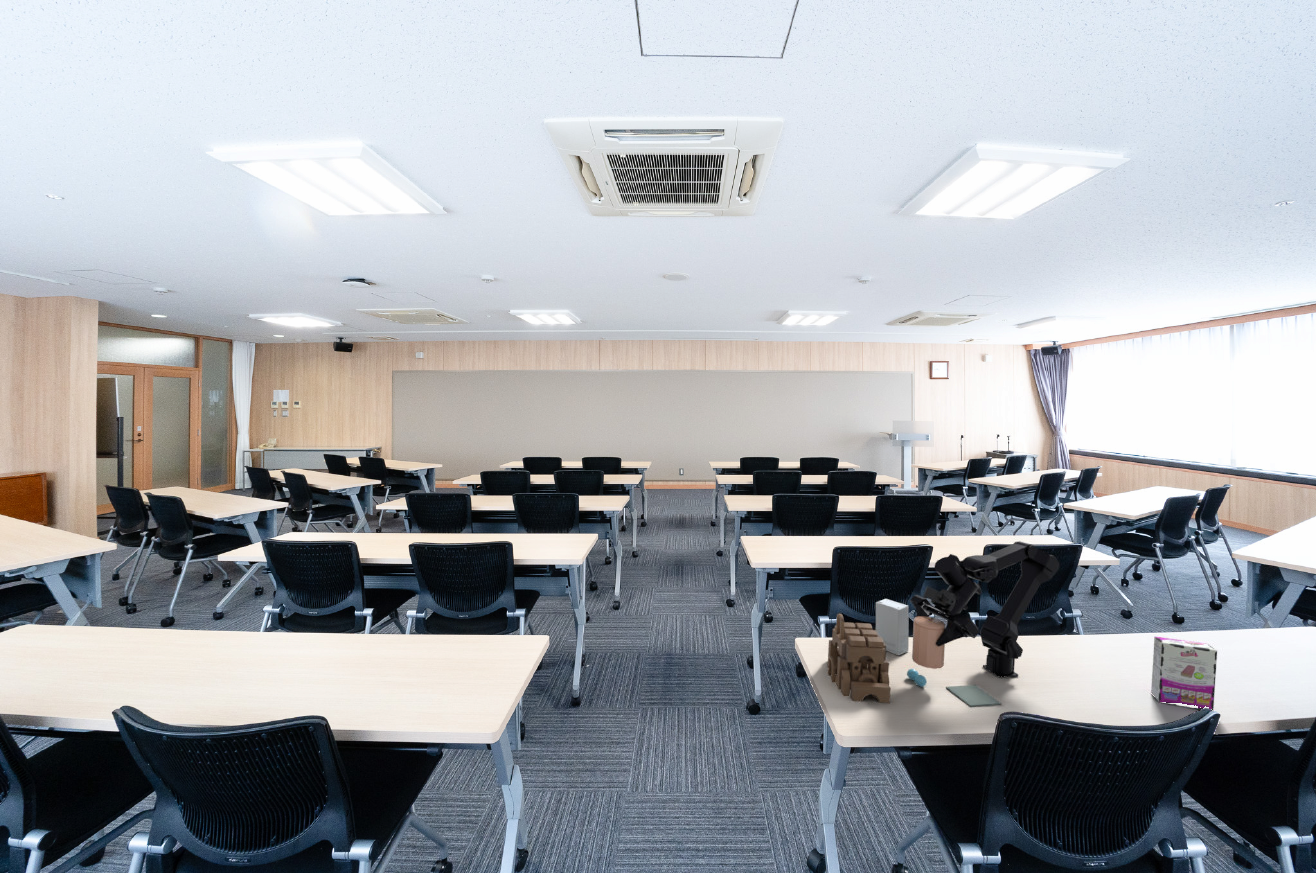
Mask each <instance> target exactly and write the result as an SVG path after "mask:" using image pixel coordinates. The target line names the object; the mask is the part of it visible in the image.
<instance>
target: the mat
mask: <svg viewBox="0 0 1316 873" xmlns="http://www.w3.org/2000/svg"><path fill="white" fill-rule="evenodd" d="M945 688H946V689H947V690H948V691H949V692H951V693H952V694H953V695H954V696H955V697H957V698H958V699H960V700H961V701H963V703H965V704H966V705H967V706H968V707H970V708H972V707H974V708H975V707H988V706H1001V705H1002V702H1001V701H999V700H998V699H996V698H995V697H993V696H992V695H991V694H989V693H988V692H987V691H985V690H984V689H982V688H981V687H979V686H978V685H976V684H969V685H968V684H967V685H955V686H954V685H951V686H949V685H948V686H945Z"/></svg>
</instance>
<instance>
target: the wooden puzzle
mask: <svg viewBox="0 0 1316 873" xmlns="http://www.w3.org/2000/svg"><path fill="white" fill-rule="evenodd" d="M835 621H836V622H835V623H836V625H834V628H832V637H831V638H832V639H828V650H827V651H828V652H827V676H831V678H830V682H831V683H834V684H835V686H836V687H837V689H838V690H840V693H841V695H842V697H850V699H851V700H852V701H853V702H864V698H865V697H867V696H870V695H871V696H872V698H876V699H877V702H879V703H881V704H882V703H883V704H890V703H891V686H890V675H889V669H890V667H889V666H890V662H889V661H888V659H886V656H887V655H886V654H887V651H886V645H885V644H884V642H883V639H882V638H881V637H879V636H878V634H877V632H876V629H873V626H872V624H871V623H863V622H855V623H854V622H848V621H847V622H845V619H844V616H843V614H842V613H837V614H836V620H835Z"/></svg>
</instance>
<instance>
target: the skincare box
mask: <svg viewBox="0 0 1316 873" xmlns="http://www.w3.org/2000/svg"><path fill="white" fill-rule="evenodd" d="M909 625H910V624H909V604H907V605H906V604H905V603H901V602H897V601H894V600H891V599H888V598H884V599H882V600H878V601H876V602H875V630H876V632H877V634H878V636H879V637H881V638H882V639H883V642H884V644H885V645H886V652H888V653H892V654H893V655H896V656H900V655H904V654H906V653H908V652H909V627H910V626H909Z"/></svg>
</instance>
